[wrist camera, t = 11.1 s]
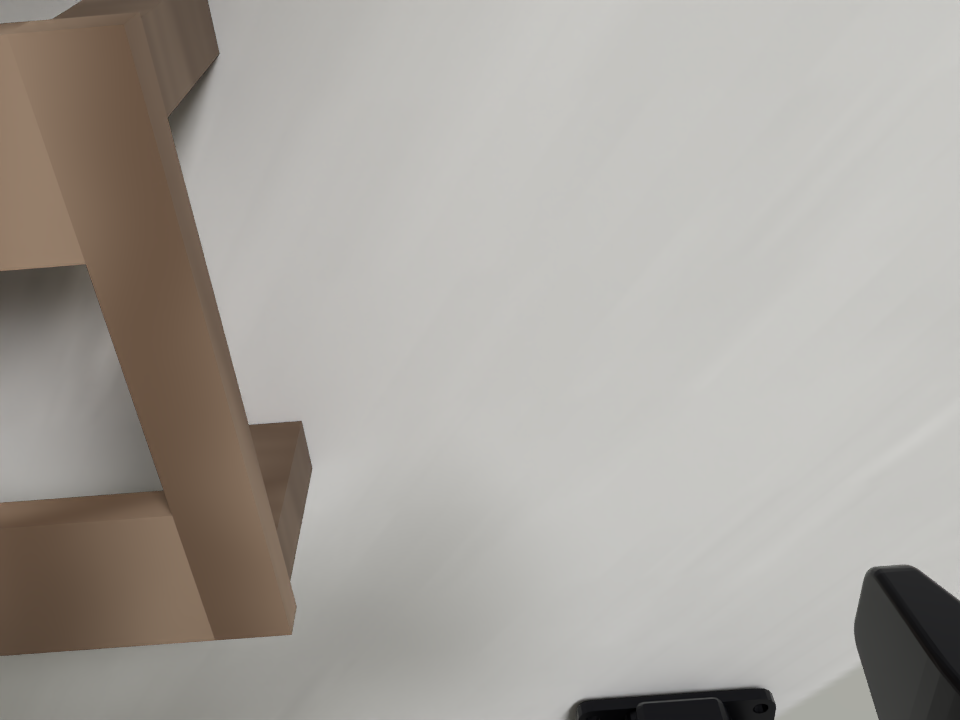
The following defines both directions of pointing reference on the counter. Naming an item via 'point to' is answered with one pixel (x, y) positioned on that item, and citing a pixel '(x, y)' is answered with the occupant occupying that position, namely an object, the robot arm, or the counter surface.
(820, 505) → the counter surface
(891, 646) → the robot arm
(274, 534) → the four-legged frame stand
